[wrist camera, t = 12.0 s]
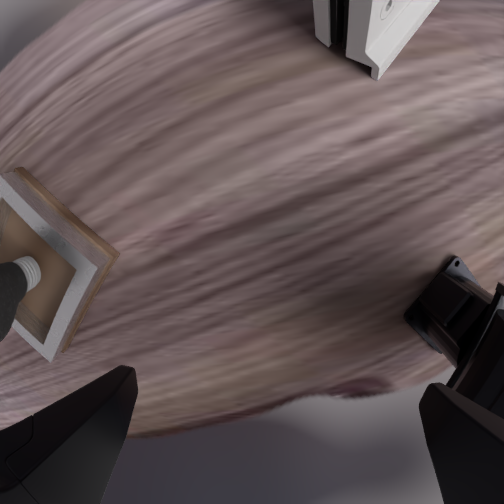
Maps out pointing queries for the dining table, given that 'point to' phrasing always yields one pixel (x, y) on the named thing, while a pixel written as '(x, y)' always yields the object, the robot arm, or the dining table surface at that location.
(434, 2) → the white arched casing
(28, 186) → the socket collar
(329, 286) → the dining table surface
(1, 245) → the socket board
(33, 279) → the light bulb
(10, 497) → the robot arm
